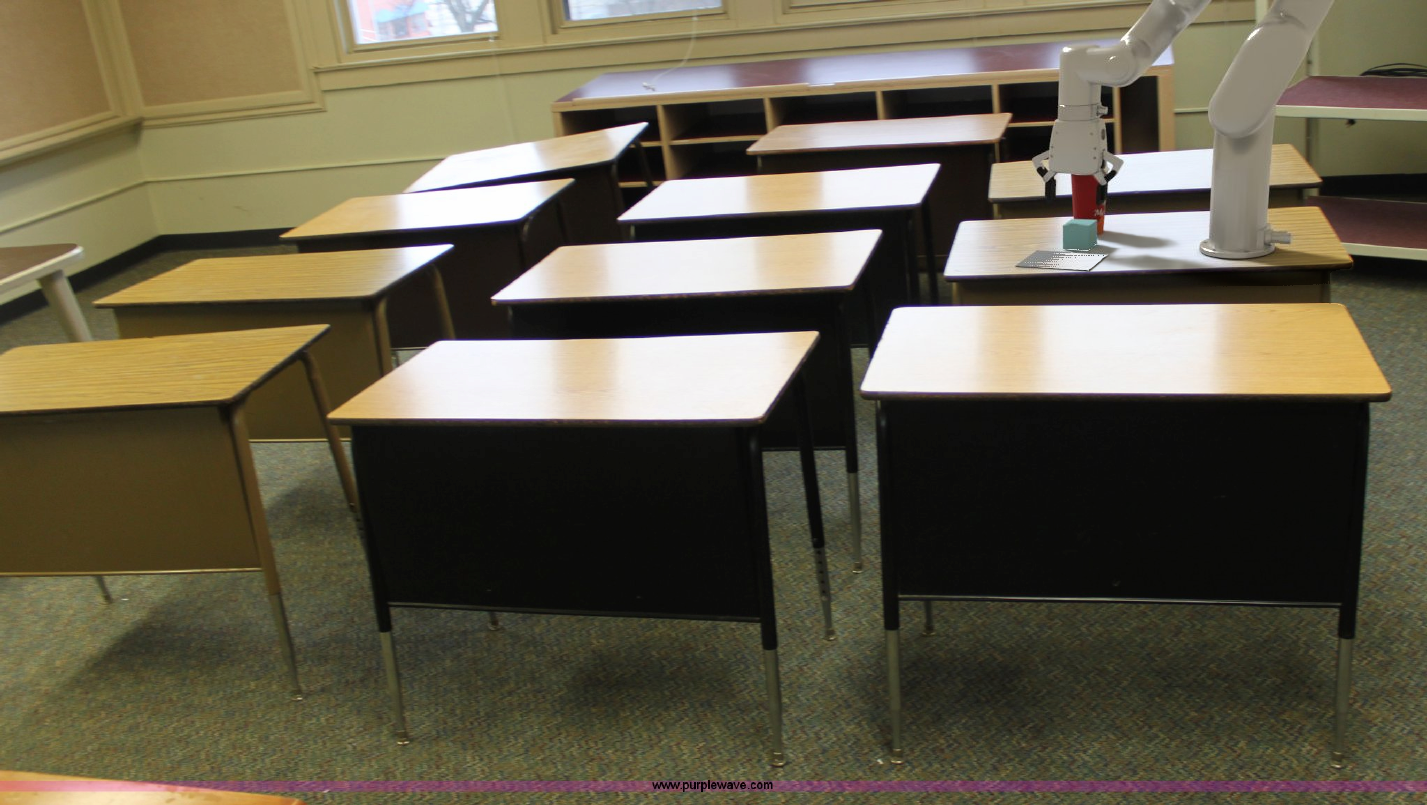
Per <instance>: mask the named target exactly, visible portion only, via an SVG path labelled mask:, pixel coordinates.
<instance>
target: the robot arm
mask: <svg viewBox="0 0 1427 805" xmlns="http://www.w3.org/2000/svg"><path fill="white" fill-rule="evenodd" d="M1212 1H1213V0H1152V1H1151V3H1150V4H1149V6H1148V7H1147V9H1146V10H1145V12H1143V14H1142V15H1141V16H1140V17H1139V19H1138V20H1137V21H1136V22H1135V23H1134V24H1133V25H1132V27H1130V29H1129V30H1128V31H1127V33H1126V34H1125V35H1124V36H1123V37H1122V38H1121V39H1120V40H1119V41H1118V42H1116V43H1115V44H1112V45H1108V46H1100V45H1099V44H1096V43H1074V44H1070V45H1065V46H1064V47H1063V48H1062V49H1061V50H1060V53H1059V69H1058V71H1059V74H1058V101H1057V102H1058V105H1057V107H1058V108H1057V119H1055V120H1054V123H1053V126H1052V131H1051V135H1050V136H1051V137H1050V142H1049V148H1048V149H1049V150H1046V151H1045V152H1041V154H1038V155H1036V156H1034V157H1033V158H1032V159H1031V161H1032V163H1033V166H1034V168H1035V169H1036V173H1037V174H1038V175H1039V176H1040V177H1041V179H1042V181H1043V182H1044V197H1045V198H1046V203H1052V202H1053V201H1054V200H1056V198H1057V179H1056V178H1055V177H1056V175H1058V174H1069V175H1071V174H1088V175H1092V174H1093V175H1094V176H1095V178H1096V179H1097V180H1098V181H1099V184H1098V185H1097V190H1096V205H1097V206H1100V205H1102V204H1103V203H1104V202H1105V201H1106V202H1107V200H1108V192H1109V191H1108V190H1109V183H1110V182H1111V181H1112V180H1113V179H1114V178H1115V177H1116V176H1117V175H1119V171H1120V170H1121V168H1122V167H1123V165H1124V163H1125V162H1124V160H1123V159H1121V158H1120V157H1118V156H1116V155H1115V154H1113V153H1110V152H1109V151H1108V142H1107V141H1108V140H1107V139H1108V138H1107V131H1106V130H1107V128H1106V122H1105V119H1104V118H1101V117H1102V116H1103V115H1107V114H1108V110H1109V109H1108V108H1109V107H1108V106H1103V105H1102V102H1101V93H1102V86H1104V87H1105V86H1106V87H1111V88H1123V87H1126V86H1130V85H1131V84H1133V83H1134V82H1135V81H1137V80H1138V79H1139V78H1140V77H1141V76H1143V75H1144V74H1145V73H1146V72H1147V71H1148V70H1149V69H1150V68H1151V67H1152V66H1153V64H1154V63H1155V62H1156V61H1157V60H1158V59H1159V58H1160V57H1161V56H1162V54H1164V52H1165V51H1166V50H1167V49H1168V48H1170V46H1171V45H1172V44H1173V42H1175V40H1177V38H1178V37H1179V36H1180V34H1181V33H1182V32H1183V31H1184V30H1185V29H1186V28H1187V27H1188V26H1189V25H1191V24H1192V23H1193V22H1195V20H1197V18H1198V17H1199V16H1200V14H1201V13H1202V12H1203V11H1204V10H1205V9H1206V8H1207V7H1208V5H1209V4H1210V3H1211V2H1212ZM1334 2H1335V0H1273V1H1272V4H1271V5H1270V7H1269V8H1268V10H1267V11H1266V14H1265V15H1264V17H1262V19H1261V20H1260V22H1259V23H1257V24H1256V25H1255V27H1253V28H1252V30H1250V32H1249V33H1248V35H1247V36H1246V38H1245V40H1244V41H1243V43H1242V45H1241V46H1240V48H1239V49H1238V52H1237V53H1236V56H1235V57H1234V59H1233V60H1232V62H1231V64H1230V66H1229V67H1228V69H1227V71H1226V73H1225V74H1224V75H1223V78H1222V80H1221V81H1220V83H1219V85H1218V86H1217V88H1216V90H1215V92H1214V93H1213V95H1212V97H1211V99H1210V101H1209V105H1208V108H1207V116H1208V120H1209V124H1210V126H1211V127H1212V128H1213V130H1214V135H1213V136H1214V137H1213V148H1212V163H1211V164H1212V165H1211V186H1210V188H1211V189H1210V207H1209V224H1208V225H1209V226H1208V227H1209V229H1208V238H1207V239H1204V240H1202V241H1201V242H1200V243H1199V252H1201V253H1202V254H1204V255H1206V256H1210V257H1214V258H1218V259H1219V258H1221V259H1233V260H1234V259H1252V258H1259V257H1262V256H1267V255H1269V254H1271V253H1273V252H1274V251H1275V248H1276V244H1280V245H1292V242H1293V236H1294V235H1293V233H1291V232H1290V233H1289V231H1288V230H1286V231H1285V230H1279V231H1278V230H1274V229H1273V228H1272V222H1268V211H1269V194H1270V179H1271V178H1270V177H1271V164H1272V151H1273V139H1274V138H1273V137H1274V128H1275V119H1276V113H1277V112H1276V110H1277V103H1278V101H1279V100H1280V99H1281V97H1282V95H1283V93H1285V90H1286V89H1287V87H1288V85H1289V83H1291V80H1292V79H1293V77H1294V75H1295V74H1296V72H1297V71H1298V69H1299V68H1300V65H1301V64H1302V62H1303V61H1304V59H1305V57H1306V56H1307V53H1308V51H1309V49H1310V46H1311V43H1312V41H1313V39H1314V38H1315V35H1316V33H1317V32H1318V30H1319V28H1320V27H1321V25H1322V24H1323V22H1324V21H1325V18H1326V17H1327V15H1328V13H1329V12H1330V9H1331V7H1332V6H1333V4H1334ZM1046 159H1048V169H1047V167H1045V165H1044V163H1043V161H1044V160H1046ZM1108 163H1109V164H1111V165H1112V168H1111V169H1110V170H1109V171H1108V174H1107V172H1106V171H1105V170H1104V169H1105V168H1106V166H1107V165H1108Z"/></svg>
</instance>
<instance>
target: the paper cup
mask: <svg viewBox="0 0 1427 805" xmlns="http://www.w3.org/2000/svg"><path fill="white" fill-rule="evenodd" d="M1108 166H1109V165H1108V164H1107V166H1106V168H1105V169H1104V170H1105V171H1106V172H1107V174H1108V173H1109V172H1110V171H1111V169H1110V168H1109V167H1108ZM1070 182H1071V198H1072V199H1071V200H1072V215H1073V219H1084V220H1097V236H1098V235H1102V234H1103V232H1104V228H1105V215H1106V203H1107V200H1106V201H1105V202H1104V203H1103V204H1102V205H1100V206H1097V205H1096V190H1097V185H1098V184H1099V181H1098V180H1097V179H1096V178H1095V176H1094V175H1093V174H1092V175H1088V174H1070Z"/></svg>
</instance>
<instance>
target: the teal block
mask: <svg viewBox="0 0 1427 805" xmlns="http://www.w3.org/2000/svg"><path fill="white" fill-rule="evenodd" d="M1095 244H1097V245H1098V235H1097V220H1084V219H1074V218H1071V219H1070V220H1068V221H1067V222H1066V223H1064V224H1063V225H1062V250H1063V249H1077V250H1078V249H1079V250H1089V249H1091V248H1092V247H1093V246H1094V245H1095ZM1094 247H1095V246H1094ZM1094 247H1093V248H1094ZM1093 248H1092V249H1093ZM1092 249H1091V250H1092ZM1089 251H1090V250H1089Z"/></svg>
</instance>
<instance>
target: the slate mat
mask: <svg viewBox="0 0 1427 805" xmlns="http://www.w3.org/2000/svg"><path fill="white" fill-rule="evenodd" d="M1071 252H1073V253H1074V252H1075V253H1076V252H1077V253H1078V252H1079V251H1061V250H1060V251H1056V250H1040V249H1038V250H1034V252H1032V253H1031V254H1030V255H1028V256H1027V257H1025V258H1024V259H1023V260H1021V261H1019V262H1018V263H1017V264H1016V265H1015V266H1017V267H1016V268H1027V267H1050V266H1046V265H1053V264H1047V263H1046V264H1045V263H1044V262H1051V261H1052V260H1059V259H1053V258H1064V257H1059V256H1073V255H1065V254H1060V253H1071ZM1054 253H1055V254H1054ZM1056 253H1059V254H1056ZM1053 256H1054V257H1053ZM1055 256H1056V257H1055ZM1057 256H1058V257H1057ZM1074 256H1077V255H1074ZM1078 256H1080V255H1078ZM1081 256H1083V255H1081ZM1084 256H1085V255H1084ZM1086 256H1087V255H1086ZM1088 256H1090V255H1088ZM1091 256H1092V255H1091ZM1093 256H1094V255H1093ZM1098 256H1099V255H1098ZM1103 256H1104V255H1103ZM1051 258H1052V259H1051ZM1066 258H1067V257H1066ZM1068 258H1069V257H1068ZM1070 258H1071V257H1070ZM1075 258H1076V257H1075ZM1046 260H1047V261H1046ZM1048 260H1049V261H1048ZM1050 260H1051V261H1050ZM1062 260H1063V259H1062ZM1025 262H1026V263H1025ZM1028 262H1029V263H1028ZM1030 262H1031V263H1030ZM1032 262H1033V263H1032ZM1035 262H1036V263H1035ZM1037 262H1043V263H1044V264H1043V263H1037ZM1052 262H1053V261H1052ZM1054 262H1055V261H1054ZM1056 262H1057V261H1056ZM1030 265H1031V266H1030ZM1032 265H1033V266H1032ZM1037 265H1038V266H1037ZM1039 265H1045V266H1039ZM1054 265H1055V264H1054ZM1056 265H1057V264H1056ZM1058 265H1059V264H1058ZM1018 266H1019V267H1018ZM1051 267H1052V266H1051ZM1053 267H1054V266H1053ZM1055 267H1056V266H1055Z"/></svg>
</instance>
